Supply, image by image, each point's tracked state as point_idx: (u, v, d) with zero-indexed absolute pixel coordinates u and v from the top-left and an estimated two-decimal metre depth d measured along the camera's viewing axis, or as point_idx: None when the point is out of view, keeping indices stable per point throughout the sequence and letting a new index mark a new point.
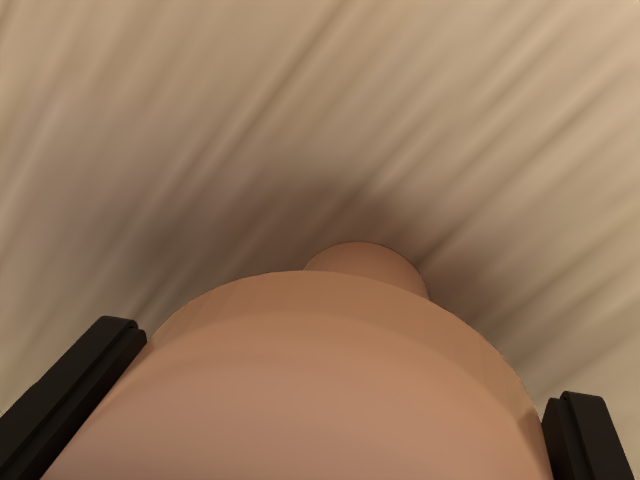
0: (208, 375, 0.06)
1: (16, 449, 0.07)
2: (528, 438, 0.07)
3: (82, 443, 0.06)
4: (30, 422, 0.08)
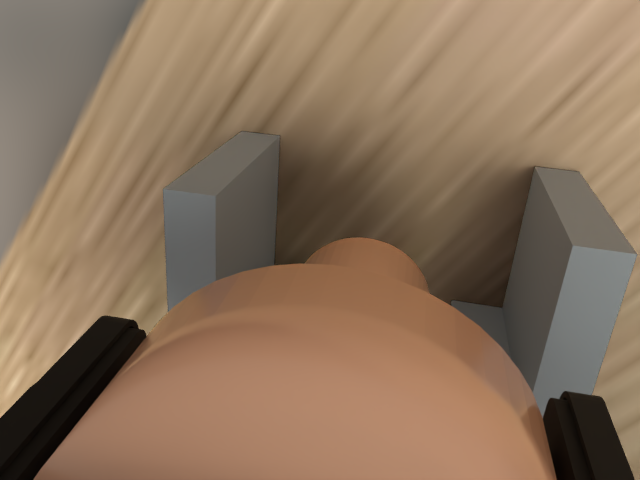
0: (208, 367, 0.06)
1: (16, 449, 0.07)
2: (530, 431, 0.07)
3: (80, 435, 0.06)
4: (30, 422, 0.08)
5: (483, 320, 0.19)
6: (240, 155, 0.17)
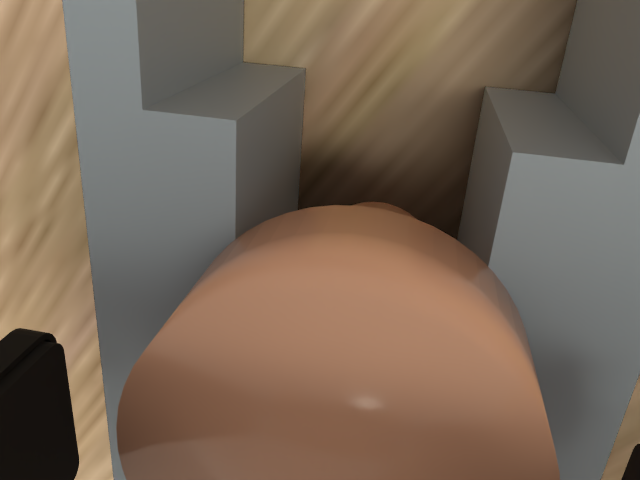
0: (274, 268, 0.08)
1: None
2: (513, 327, 0.09)
3: (180, 317, 0.08)
4: None
5: (532, 98, 0.14)
6: None
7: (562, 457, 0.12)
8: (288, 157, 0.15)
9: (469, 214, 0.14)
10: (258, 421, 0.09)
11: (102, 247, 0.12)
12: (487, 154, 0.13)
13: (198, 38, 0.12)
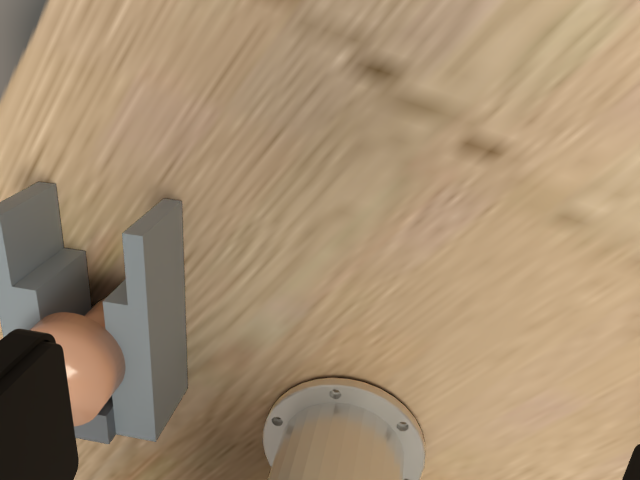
0: None
1: None
2: (100, 345, 0.37)
3: None
4: None
5: None
6: (26, 195, 0.39)
7: (140, 383, 0.40)
8: (75, 284, 0.43)
9: None
10: None
11: (4, 321, 0.40)
12: None
13: (35, 255, 0.40)
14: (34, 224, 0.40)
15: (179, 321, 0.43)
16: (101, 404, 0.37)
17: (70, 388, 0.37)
